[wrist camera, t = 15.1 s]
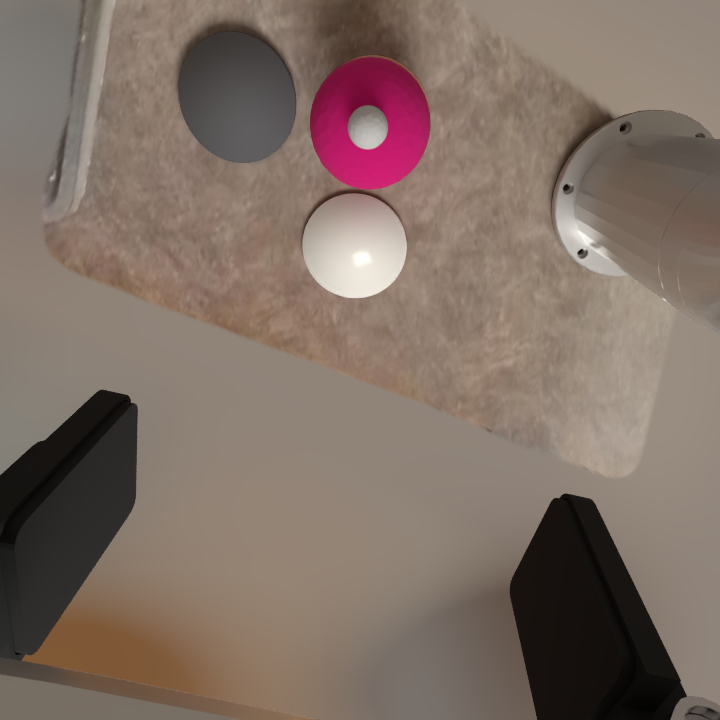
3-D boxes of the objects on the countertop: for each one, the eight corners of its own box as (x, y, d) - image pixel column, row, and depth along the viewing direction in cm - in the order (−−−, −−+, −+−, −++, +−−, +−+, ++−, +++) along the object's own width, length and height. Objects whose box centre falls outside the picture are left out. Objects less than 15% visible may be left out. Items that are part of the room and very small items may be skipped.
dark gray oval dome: (163, 49, 39) (159, 49, 38) (277, 17, 37) (275, 16, 36) (206, 172, 43) (203, 174, 42) (310, 147, 41) (308, 148, 41)
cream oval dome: (415, 202, 43) (415, 203, 42) (396, 302, 47) (396, 305, 46) (309, 184, 43) (307, 185, 42) (299, 286, 47) (297, 289, 46)
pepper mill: (441, 123, 40) (487, 130, 22) (374, 191, 42) (365, 247, 24) (377, 46, 38) (369, -19, 20) (310, 122, 40) (248, 126, 22)
